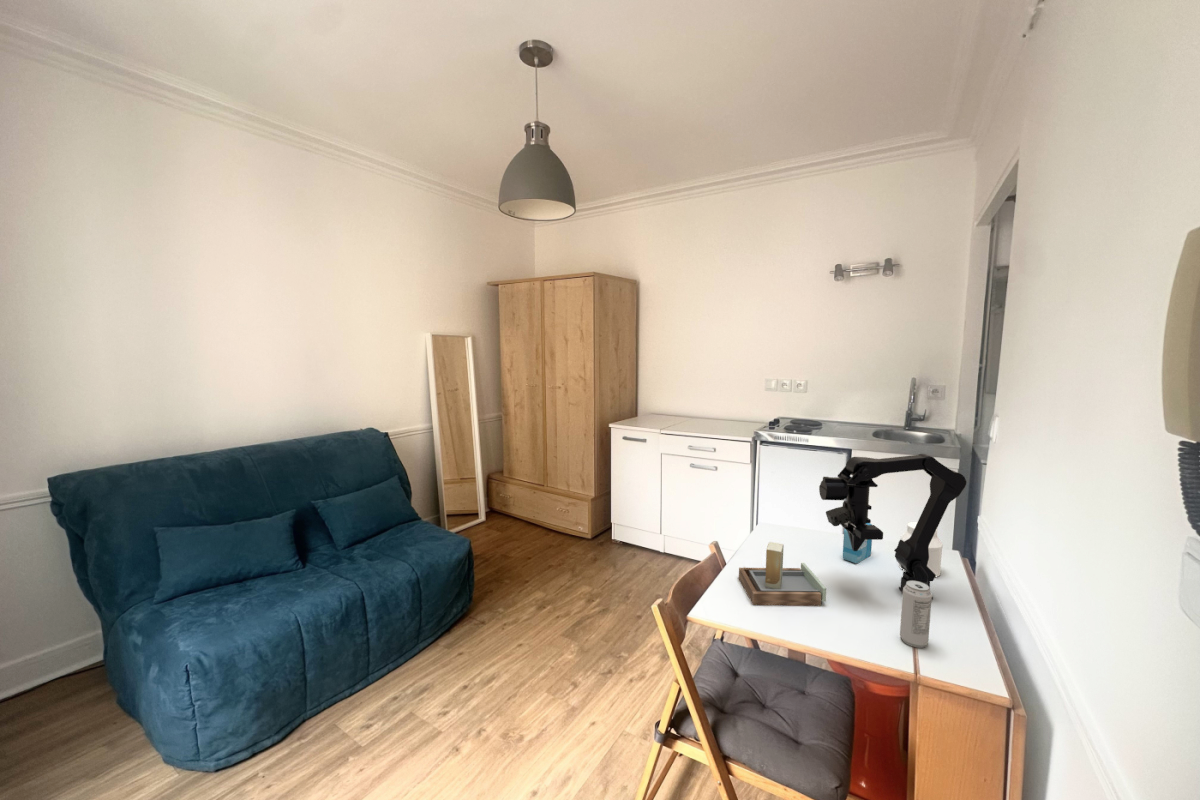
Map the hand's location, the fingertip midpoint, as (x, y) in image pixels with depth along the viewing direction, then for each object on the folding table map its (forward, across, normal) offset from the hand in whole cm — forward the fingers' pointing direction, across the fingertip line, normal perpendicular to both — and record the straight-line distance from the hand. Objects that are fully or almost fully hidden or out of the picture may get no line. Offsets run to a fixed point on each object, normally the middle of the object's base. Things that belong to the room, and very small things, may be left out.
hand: (854, 550), depth 145 cm
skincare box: (+11, 0, -24) cm, 26 cm away
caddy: (+13, 0, -22) cm, 26 cm away
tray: (+12, 0, -21) cm, 24 cm away
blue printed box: (+13, -24, +13) cm, 30 cm away
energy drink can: (+13, +25, +3) cm, 28 cm away
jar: (+13, -15, +29) cm, 35 cm away
